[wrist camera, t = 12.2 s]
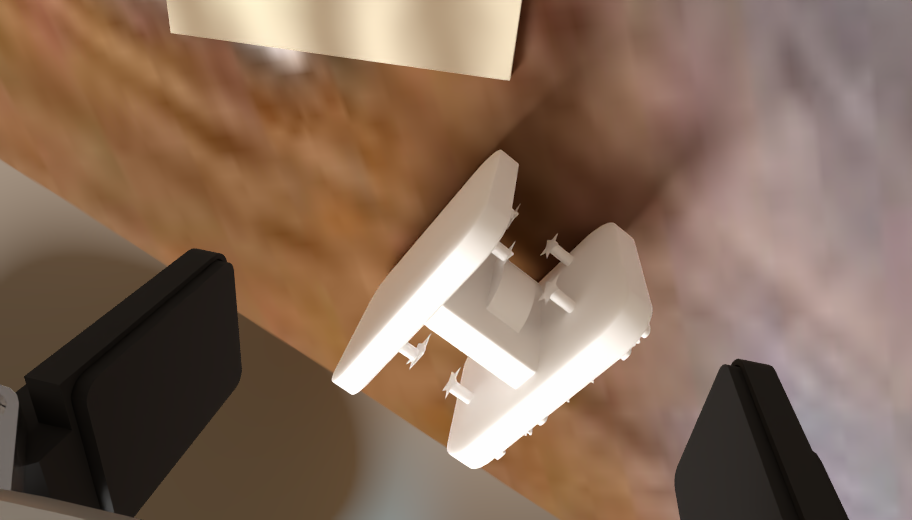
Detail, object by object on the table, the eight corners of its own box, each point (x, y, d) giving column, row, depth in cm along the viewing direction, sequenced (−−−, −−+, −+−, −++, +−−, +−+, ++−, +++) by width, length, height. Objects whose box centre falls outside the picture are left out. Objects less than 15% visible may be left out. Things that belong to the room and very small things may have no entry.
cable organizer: (509, 125, 35) (492, 198, 25) (637, 230, 37) (669, 338, 27) (375, 284, 42) (319, 392, 32) (489, 365, 44) (470, 492, 34)
